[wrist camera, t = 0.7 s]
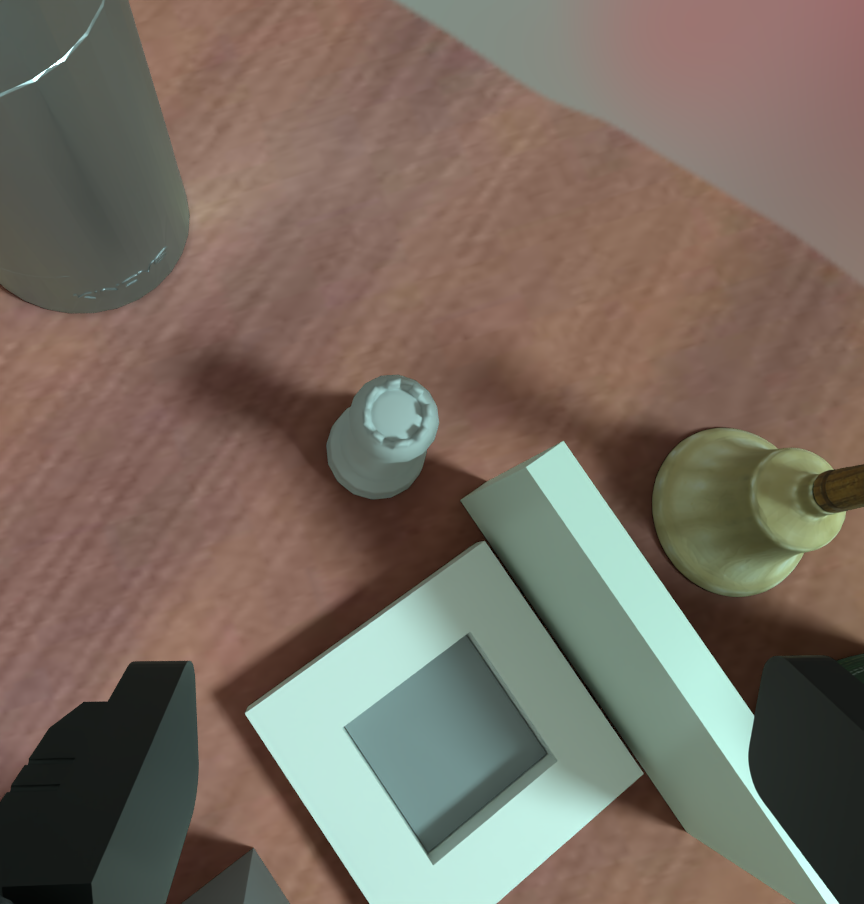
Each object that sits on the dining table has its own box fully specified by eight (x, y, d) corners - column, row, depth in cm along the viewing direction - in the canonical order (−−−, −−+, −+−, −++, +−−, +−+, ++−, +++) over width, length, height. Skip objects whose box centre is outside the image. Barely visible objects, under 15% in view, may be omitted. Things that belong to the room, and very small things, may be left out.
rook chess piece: (331, 399, 33) (339, 342, 25) (427, 410, 34) (464, 358, 26) (320, 495, 32) (326, 468, 24) (419, 505, 33) (456, 481, 25)
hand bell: (617, 496, 35) (873, 427, 19) (732, 396, 37) (1047, 261, 21) (726, 632, 34) (1075, 676, 19) (835, 525, 36) (1231, 484, 21)
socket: (221, 666, 30) (183, 707, 20) (487, 481, 33) (563, 441, 24) (465, 1037, 29) (546, 1264, 20) (712, 809, 33) (885, 905, 23)
